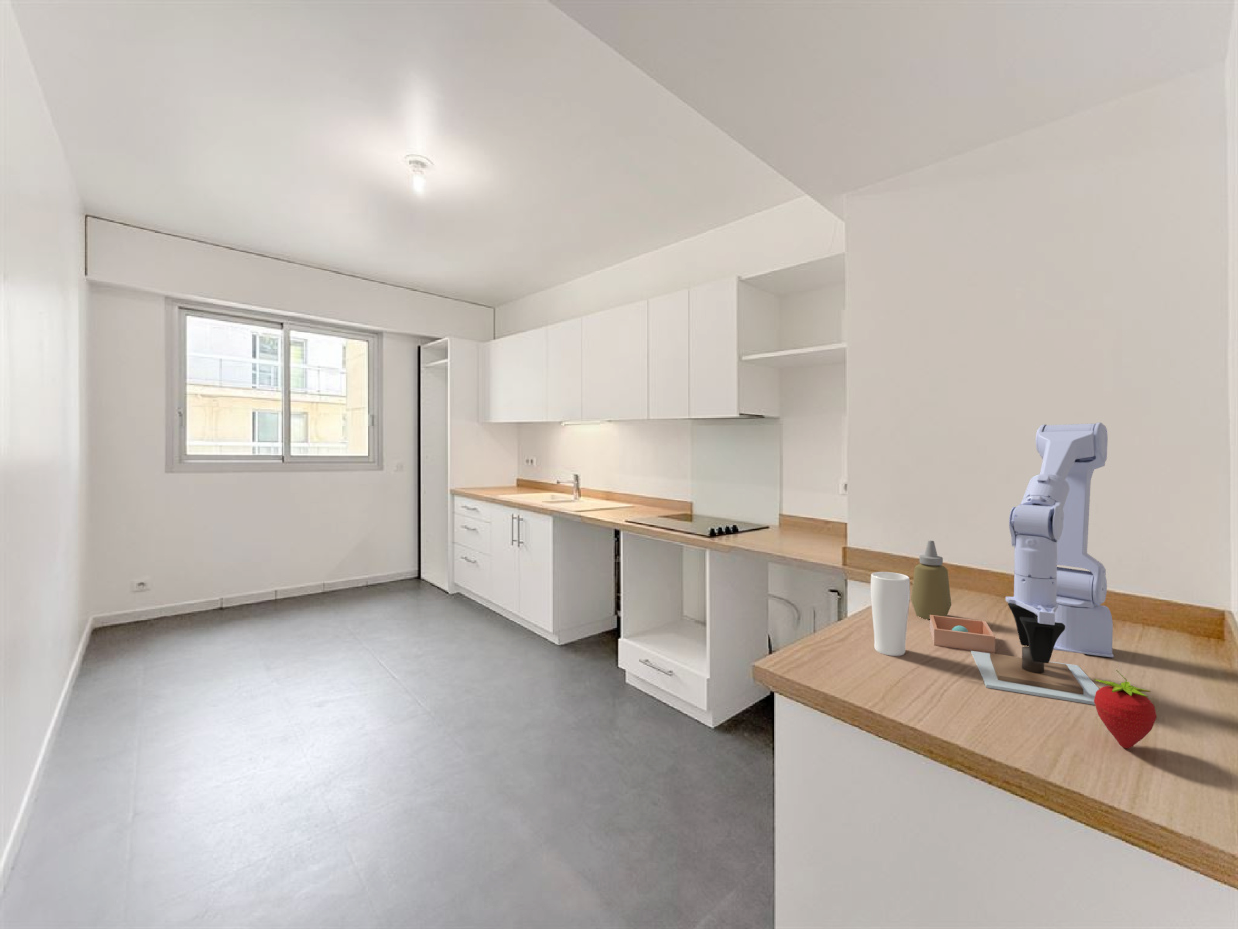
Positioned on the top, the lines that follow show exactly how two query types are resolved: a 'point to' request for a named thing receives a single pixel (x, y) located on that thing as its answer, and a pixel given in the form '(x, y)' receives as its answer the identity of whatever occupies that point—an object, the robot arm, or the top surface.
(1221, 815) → the top surface
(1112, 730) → the strawberry
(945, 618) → the shallow cardboard tray
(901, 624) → the white cup
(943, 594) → the squeeze bottle
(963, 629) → the ball
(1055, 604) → the robot arm
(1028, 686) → the mat
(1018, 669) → the lid
